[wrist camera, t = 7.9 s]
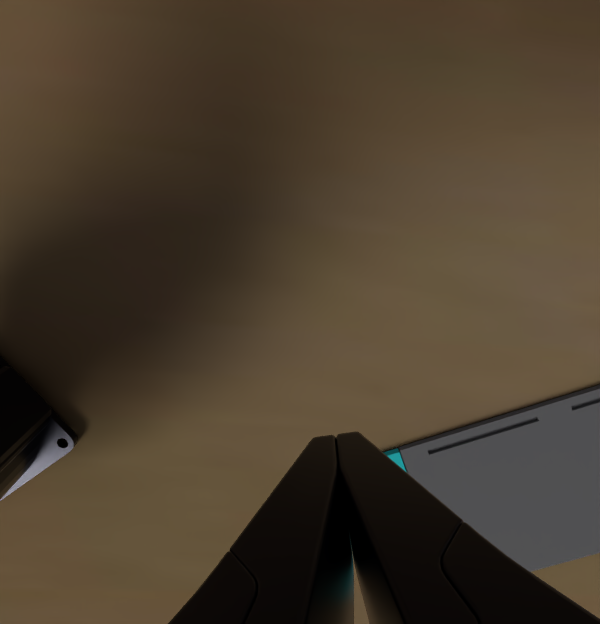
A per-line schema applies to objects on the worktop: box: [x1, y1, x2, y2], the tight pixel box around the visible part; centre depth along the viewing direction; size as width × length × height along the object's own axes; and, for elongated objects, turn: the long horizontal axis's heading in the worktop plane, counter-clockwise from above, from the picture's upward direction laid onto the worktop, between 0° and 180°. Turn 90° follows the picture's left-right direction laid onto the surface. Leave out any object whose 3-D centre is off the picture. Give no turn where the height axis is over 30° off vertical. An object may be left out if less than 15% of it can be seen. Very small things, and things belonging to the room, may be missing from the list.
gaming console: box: [383, 385, 600, 572], centre depth 23 cm, size 19×1×10 cm
